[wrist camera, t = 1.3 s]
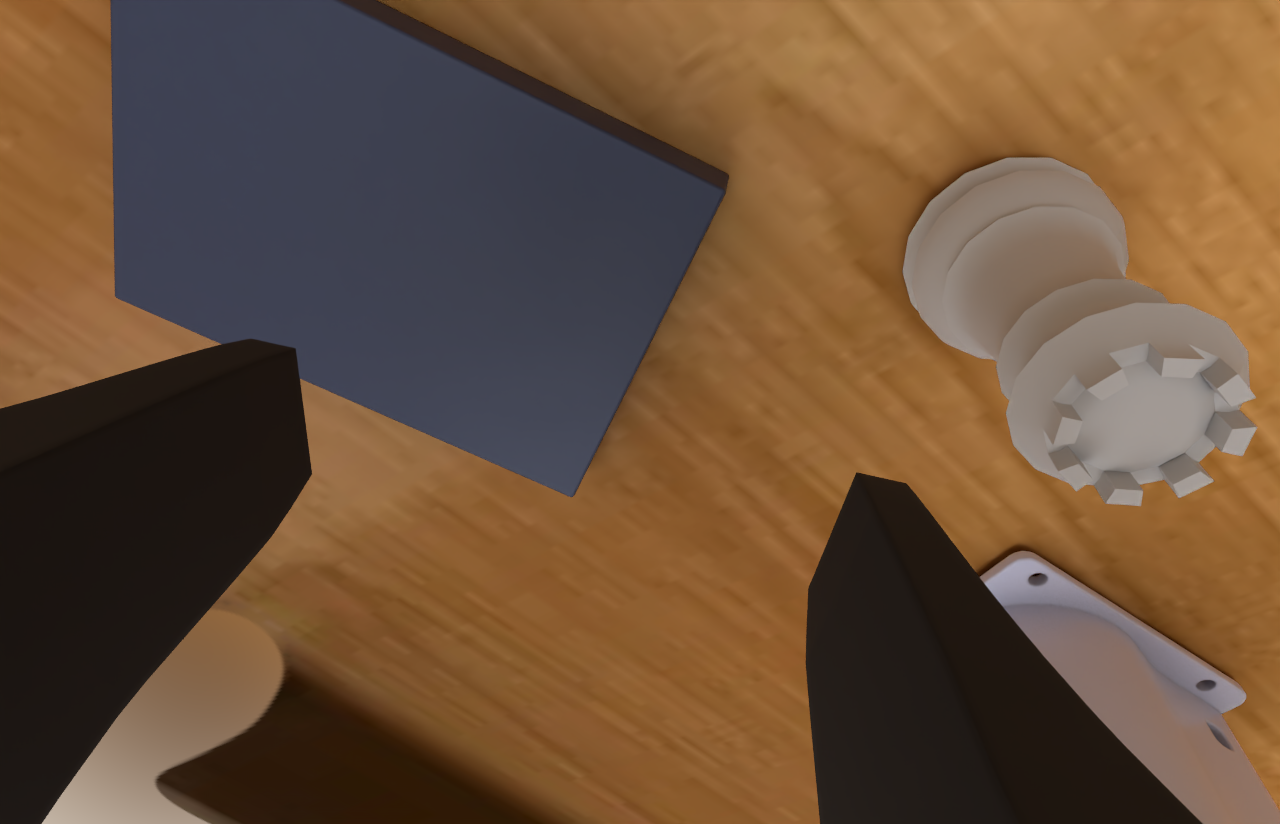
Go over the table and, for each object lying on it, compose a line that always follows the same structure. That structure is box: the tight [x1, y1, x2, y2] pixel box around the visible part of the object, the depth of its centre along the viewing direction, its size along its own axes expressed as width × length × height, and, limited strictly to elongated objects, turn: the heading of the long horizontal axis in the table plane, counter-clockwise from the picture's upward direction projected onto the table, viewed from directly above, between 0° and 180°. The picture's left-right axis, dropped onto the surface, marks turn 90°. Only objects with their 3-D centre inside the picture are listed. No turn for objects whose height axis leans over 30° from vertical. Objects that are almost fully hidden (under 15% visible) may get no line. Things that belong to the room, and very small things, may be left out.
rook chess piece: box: [902, 158, 1257, 506], centre depth 13 cm, size 4×4×8 cm
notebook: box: [111, 0, 729, 497], centre depth 18 cm, size 14×10×2 cm
